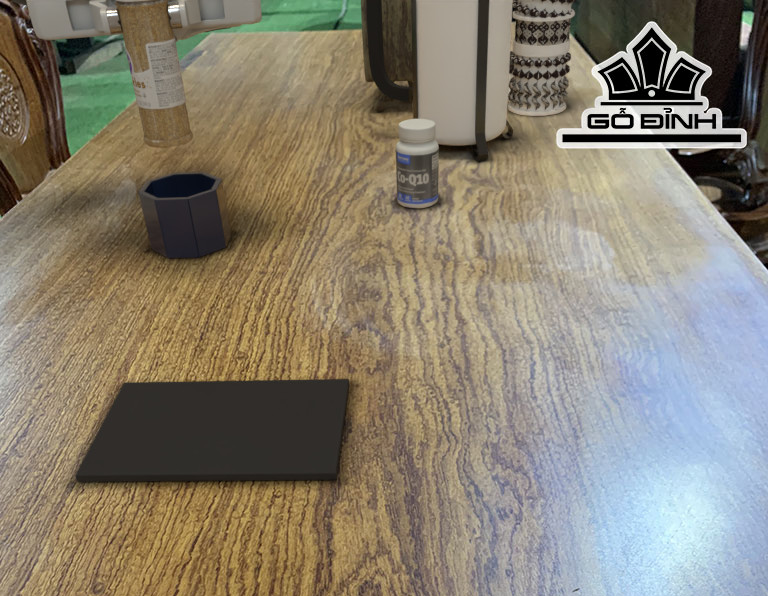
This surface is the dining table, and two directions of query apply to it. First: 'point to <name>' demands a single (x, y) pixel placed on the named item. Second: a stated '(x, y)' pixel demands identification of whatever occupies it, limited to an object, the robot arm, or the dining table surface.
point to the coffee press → (453, 68)
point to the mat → (220, 432)
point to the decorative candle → (540, 57)
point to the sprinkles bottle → (155, 72)
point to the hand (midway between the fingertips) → (145, 20)
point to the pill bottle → (417, 164)
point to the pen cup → (185, 214)
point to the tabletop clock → (391, 43)
